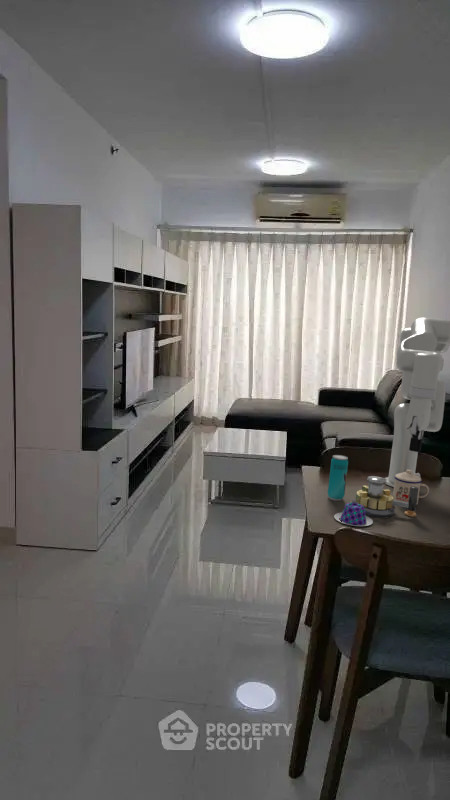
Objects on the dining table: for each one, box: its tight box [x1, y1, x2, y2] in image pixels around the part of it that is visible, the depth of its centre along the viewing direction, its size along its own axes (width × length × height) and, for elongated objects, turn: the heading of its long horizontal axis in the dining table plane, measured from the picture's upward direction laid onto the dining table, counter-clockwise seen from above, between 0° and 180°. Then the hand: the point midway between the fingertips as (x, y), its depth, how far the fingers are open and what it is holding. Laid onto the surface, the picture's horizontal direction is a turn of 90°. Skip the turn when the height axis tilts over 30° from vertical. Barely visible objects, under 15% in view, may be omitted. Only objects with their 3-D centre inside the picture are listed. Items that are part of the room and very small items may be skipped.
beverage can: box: [327, 454, 349, 502], centre depth 211 cm, size 6×6×15 cm
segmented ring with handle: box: [355, 485, 419, 512], centre depth 201 cm, size 19×12×8 cm, turn 71°
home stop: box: [404, 509, 417, 517], centre depth 201 cm, size 4×4×8 cm
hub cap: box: [351, 475, 396, 519], centre depth 202 cm, size 14×14×11 cm
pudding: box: [333, 502, 374, 527], centre depth 192 cm, size 12×12×5 cm
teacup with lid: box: [392, 469, 430, 506], centre depth 213 cm, size 12×9×12 cm
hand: (414, 450), depth 192 cm, fingers closed
